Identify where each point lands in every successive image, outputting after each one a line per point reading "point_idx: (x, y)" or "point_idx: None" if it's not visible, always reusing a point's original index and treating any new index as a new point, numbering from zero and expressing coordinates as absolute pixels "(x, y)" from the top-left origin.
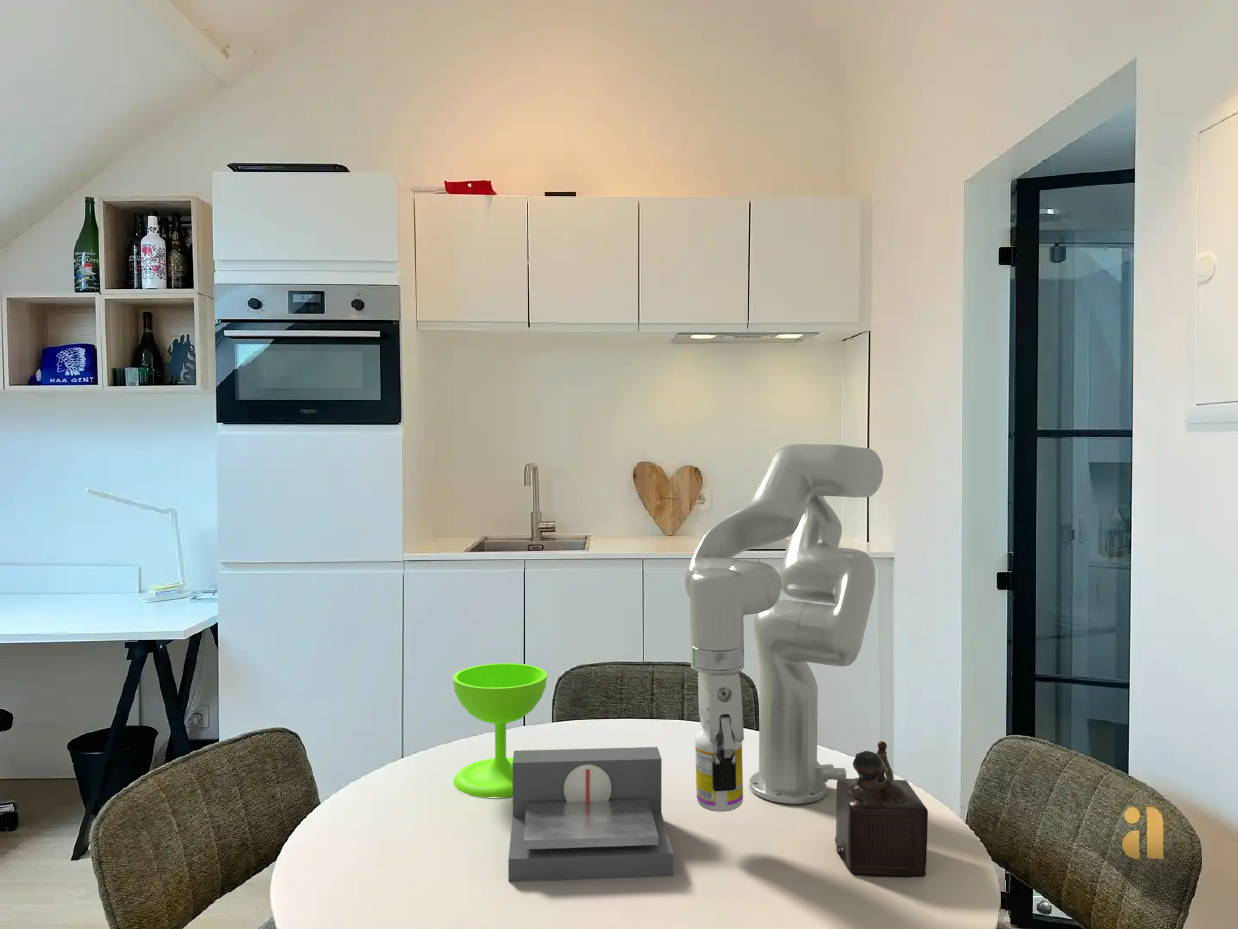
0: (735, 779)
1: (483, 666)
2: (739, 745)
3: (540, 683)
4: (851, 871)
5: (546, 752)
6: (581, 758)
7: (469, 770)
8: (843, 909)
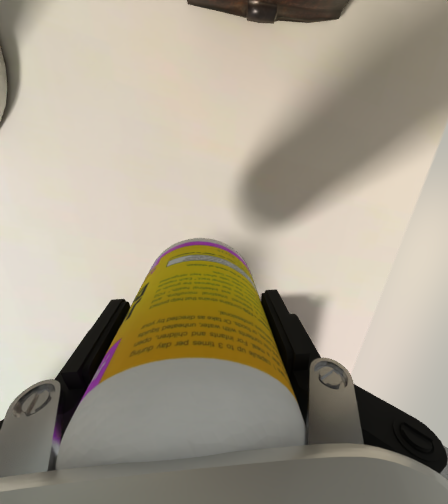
0: (284, 306)
1: None
2: (265, 385)
3: None
4: (338, 17)
5: None
6: None
7: None
8: (430, 89)
